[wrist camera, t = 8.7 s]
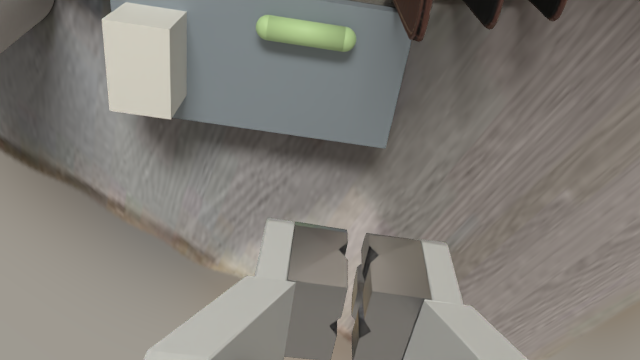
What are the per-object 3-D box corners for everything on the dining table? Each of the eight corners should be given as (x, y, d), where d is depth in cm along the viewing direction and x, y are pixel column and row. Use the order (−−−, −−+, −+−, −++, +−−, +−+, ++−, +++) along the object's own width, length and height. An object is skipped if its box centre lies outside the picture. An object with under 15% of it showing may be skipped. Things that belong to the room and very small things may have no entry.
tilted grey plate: (115, -36, 34) (81, -19, 30) (415, 10, 35) (425, 34, 30) (124, 103, 39) (97, 135, 35) (384, 140, 40) (389, 176, 36)
